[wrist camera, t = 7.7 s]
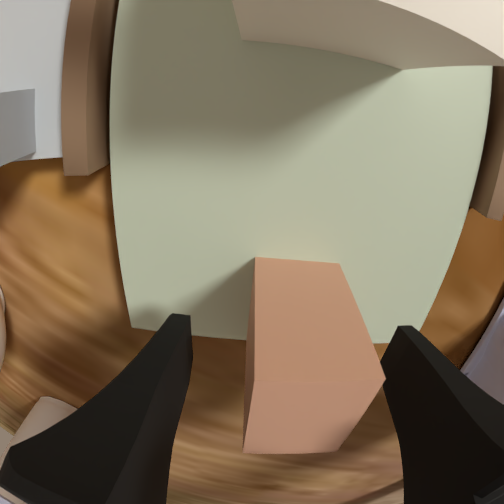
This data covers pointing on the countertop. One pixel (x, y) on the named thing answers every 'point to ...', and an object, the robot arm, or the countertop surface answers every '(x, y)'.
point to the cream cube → (383, 29)
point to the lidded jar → (2, 329)
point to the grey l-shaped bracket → (31, 78)
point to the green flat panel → (285, 204)
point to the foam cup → (37, 427)
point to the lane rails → (98, 105)
